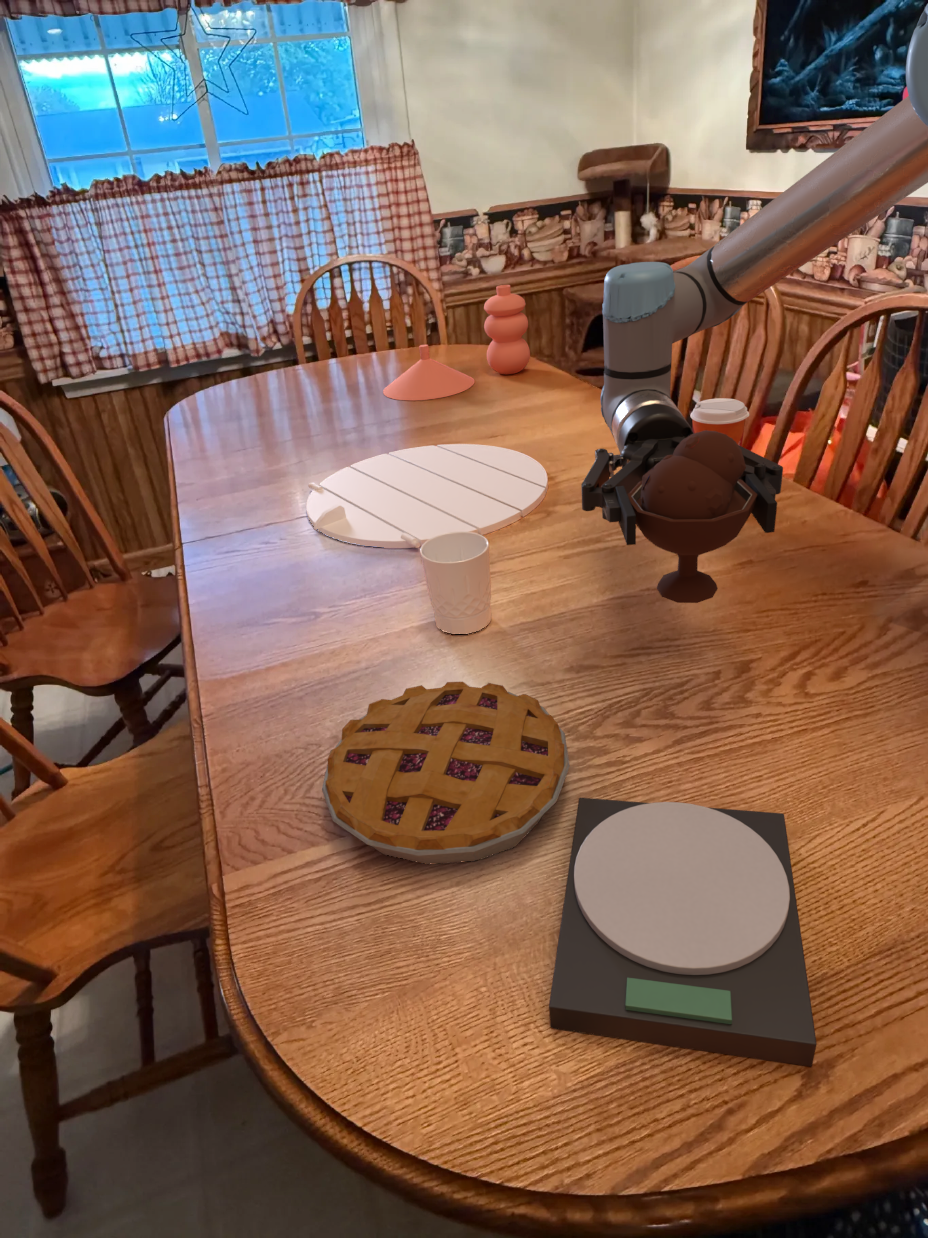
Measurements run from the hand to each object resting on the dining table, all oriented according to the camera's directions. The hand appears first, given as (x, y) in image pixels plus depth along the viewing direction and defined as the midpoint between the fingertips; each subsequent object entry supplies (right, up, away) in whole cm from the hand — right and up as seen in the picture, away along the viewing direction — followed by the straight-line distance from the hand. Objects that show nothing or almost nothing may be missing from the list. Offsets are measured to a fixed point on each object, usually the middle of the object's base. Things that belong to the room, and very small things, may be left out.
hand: (701, 524), depth 69 cm
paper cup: (+17, +9, +51) cm, 54 cm away
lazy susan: (-26, +12, +64) cm, 70 cm away
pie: (-21, -23, +5) cm, 32 cm away
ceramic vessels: (-21, +47, +120) cm, 130 cm away
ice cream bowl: (+1, -5, +8) cm, 10 cm away
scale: (-4, -30, -10) cm, 32 cm away
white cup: (-20, -8, +29) cm, 37 cm away
